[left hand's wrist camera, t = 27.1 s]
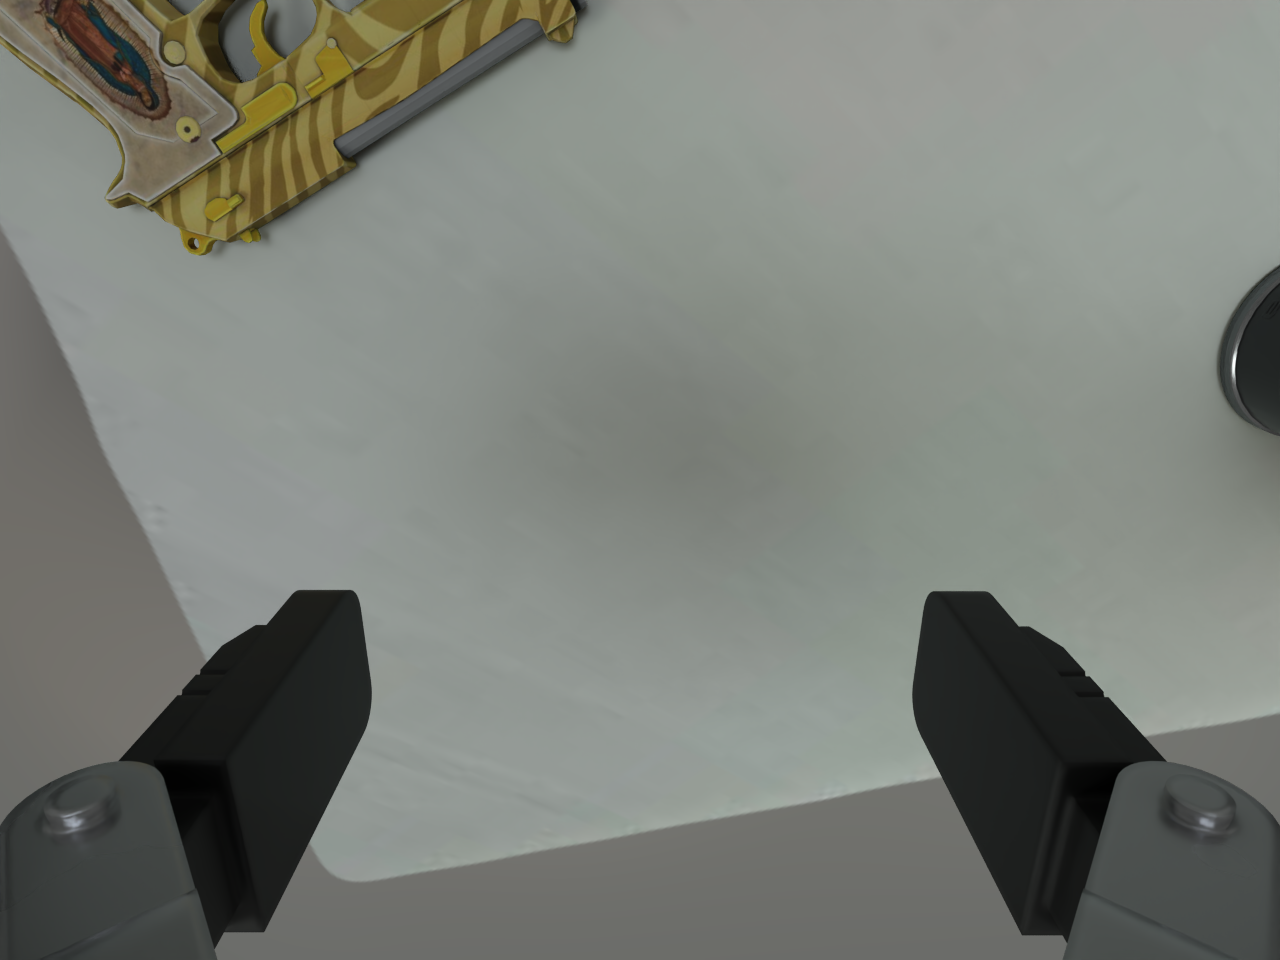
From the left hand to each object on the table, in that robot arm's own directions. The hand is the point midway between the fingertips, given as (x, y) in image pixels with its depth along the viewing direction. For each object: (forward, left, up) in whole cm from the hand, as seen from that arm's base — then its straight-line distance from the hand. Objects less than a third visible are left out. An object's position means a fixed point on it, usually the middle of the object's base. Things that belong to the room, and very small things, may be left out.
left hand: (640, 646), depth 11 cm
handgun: (+20, +2, -30) cm, 36 cm away
